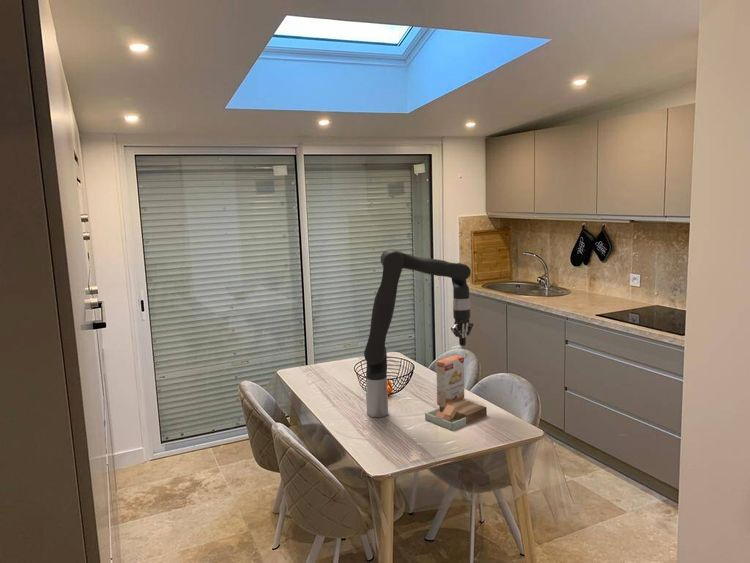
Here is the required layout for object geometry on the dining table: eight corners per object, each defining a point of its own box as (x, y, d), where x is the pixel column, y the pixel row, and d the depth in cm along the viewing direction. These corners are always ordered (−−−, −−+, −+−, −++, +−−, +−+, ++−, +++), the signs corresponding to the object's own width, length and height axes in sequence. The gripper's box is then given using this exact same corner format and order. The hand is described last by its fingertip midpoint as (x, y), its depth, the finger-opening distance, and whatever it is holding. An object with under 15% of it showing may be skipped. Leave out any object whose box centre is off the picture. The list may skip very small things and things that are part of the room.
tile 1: (443, 414, 235) (441, 420, 235) (437, 410, 233) (435, 416, 232) (451, 417, 232) (448, 422, 231) (445, 413, 229) (442, 419, 229)
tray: (425, 419, 237) (424, 413, 237) (439, 414, 242) (438, 407, 242) (452, 430, 225) (452, 423, 224) (466, 424, 230) (466, 417, 230)
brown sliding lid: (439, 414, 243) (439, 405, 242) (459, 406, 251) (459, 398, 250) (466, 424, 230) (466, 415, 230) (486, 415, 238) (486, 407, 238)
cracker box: (446, 407, 250) (445, 363, 248) (436, 404, 255) (435, 360, 252) (465, 398, 260) (464, 356, 257) (455, 396, 264) (454, 354, 261)
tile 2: (444, 416, 236) (442, 412, 235) (450, 407, 238) (447, 404, 236) (452, 418, 232) (449, 415, 231) (457, 410, 234) (455, 407, 233)
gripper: (465, 304, 250) (466, 341, 253) (445, 309, 242) (446, 347, 244) (477, 306, 244) (478, 344, 247) (457, 311, 236) (458, 350, 239)
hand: (462, 345), depth 246 cm, fingers closed
